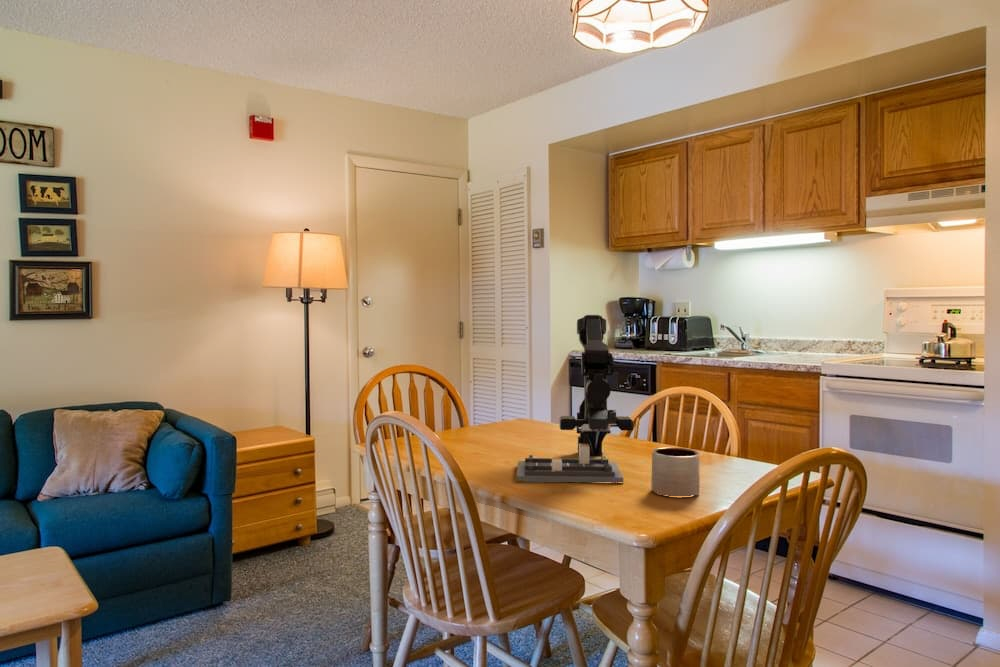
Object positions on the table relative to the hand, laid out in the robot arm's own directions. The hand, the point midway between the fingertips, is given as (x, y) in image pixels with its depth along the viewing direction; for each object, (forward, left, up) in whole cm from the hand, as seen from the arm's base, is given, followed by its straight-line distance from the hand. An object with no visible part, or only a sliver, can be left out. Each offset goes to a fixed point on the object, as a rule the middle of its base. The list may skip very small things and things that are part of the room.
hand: (595, 456), depth 177 cm
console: (+7, +4, -4) cm, 9 cm away
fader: (+3, 0, -2) cm, 4 cm away
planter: (-17, +19, -4) cm, 26 cm away
